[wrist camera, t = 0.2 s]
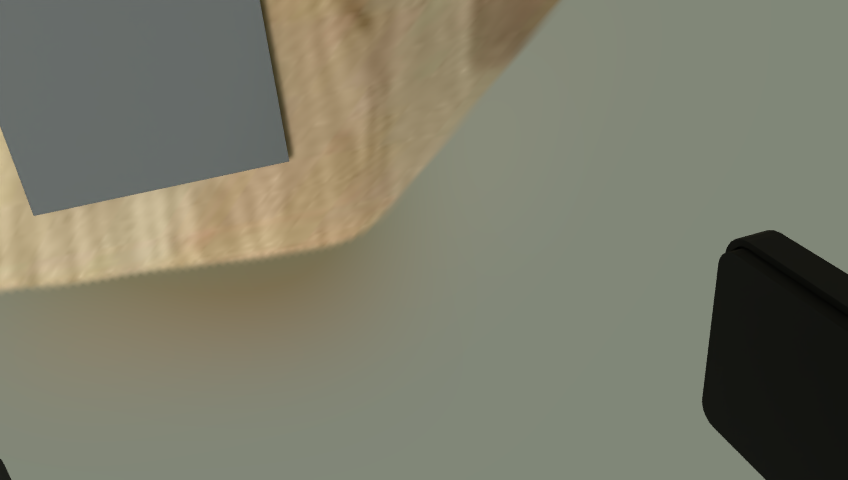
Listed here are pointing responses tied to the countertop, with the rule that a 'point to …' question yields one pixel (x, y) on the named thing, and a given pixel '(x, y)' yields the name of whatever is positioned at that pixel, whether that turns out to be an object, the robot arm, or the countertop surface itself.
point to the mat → (134, 96)
